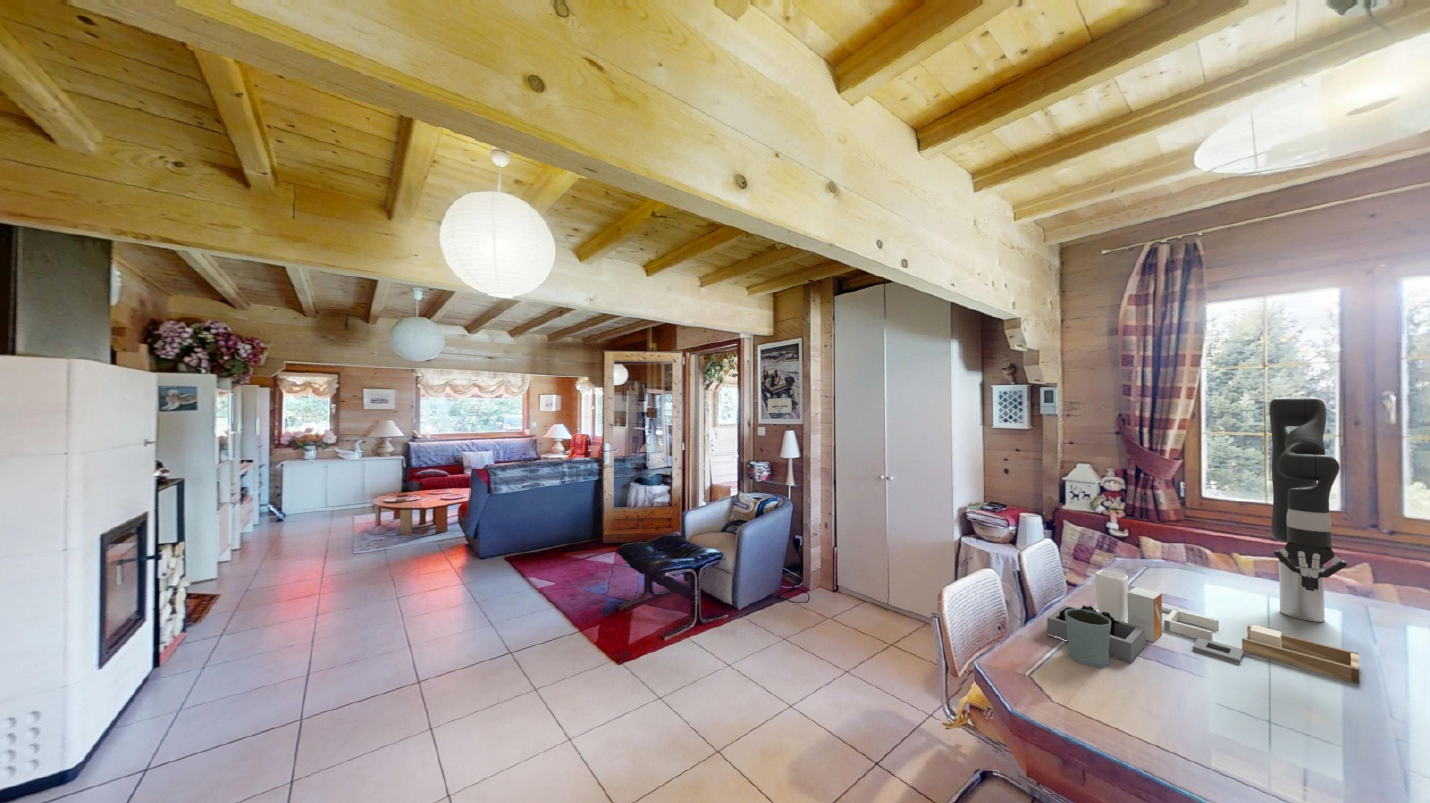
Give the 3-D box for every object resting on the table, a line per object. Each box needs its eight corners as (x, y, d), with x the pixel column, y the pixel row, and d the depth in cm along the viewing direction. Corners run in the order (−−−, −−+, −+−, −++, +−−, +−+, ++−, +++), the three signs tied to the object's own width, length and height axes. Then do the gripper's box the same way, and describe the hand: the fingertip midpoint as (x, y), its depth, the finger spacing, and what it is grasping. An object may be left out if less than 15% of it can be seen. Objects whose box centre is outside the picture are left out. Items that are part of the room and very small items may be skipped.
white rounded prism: (1130, 620, 151) (1129, 575, 152) (1122, 626, 147) (1122, 580, 148) (1102, 612, 158) (1101, 568, 158) (1094, 618, 153) (1093, 573, 154)
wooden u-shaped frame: (1247, 636, 140) (1247, 625, 140) (1358, 665, 125) (1358, 652, 125) (1242, 651, 132) (1242, 638, 133) (1359, 683, 117) (1359, 669, 117)
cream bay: (1173, 617, 153) (1173, 608, 154) (1218, 629, 145) (1218, 619, 145) (1164, 629, 146) (1164, 619, 146) (1211, 642, 137) (1211, 632, 137)
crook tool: (1156, 609, 160) (1156, 605, 160) (1212, 621, 150) (1212, 618, 150) (1156, 613, 157) (1156, 609, 157) (1213, 625, 148) (1213, 622, 148)
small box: (1154, 642, 137) (1154, 598, 138) (1127, 634, 143) (1126, 591, 143) (1163, 635, 142) (1162, 592, 142) (1135, 627, 147) (1135, 586, 147)
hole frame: (1198, 640, 138) (1198, 636, 138) (1244, 653, 131) (1244, 649, 131) (1192, 650, 133) (1192, 646, 133) (1239, 664, 126) (1239, 660, 126)
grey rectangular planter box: (1064, 622, 151) (1064, 605, 151) (1145, 646, 135) (1144, 628, 135) (1047, 635, 142) (1047, 617, 142) (1131, 663, 126) (1131, 643, 126)
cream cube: (1252, 643, 137) (1252, 624, 137) (1282, 650, 133) (1281, 631, 133) (1250, 648, 134) (1250, 629, 134) (1280, 657, 129) (1280, 637, 129)
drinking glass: (1104, 654, 131) (1104, 612, 131) (1118, 673, 122) (1117, 627, 122) (1061, 646, 135) (1060, 605, 136) (1070, 664, 126) (1070, 620, 126)
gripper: (1349, 529, 124) (1350, 594, 124) (1272, 520, 135) (1273, 579, 135) (1349, 534, 120) (1351, 601, 119) (1269, 524, 130) (1271, 585, 130)
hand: (1309, 589), depth 127 cm, fingers closed
